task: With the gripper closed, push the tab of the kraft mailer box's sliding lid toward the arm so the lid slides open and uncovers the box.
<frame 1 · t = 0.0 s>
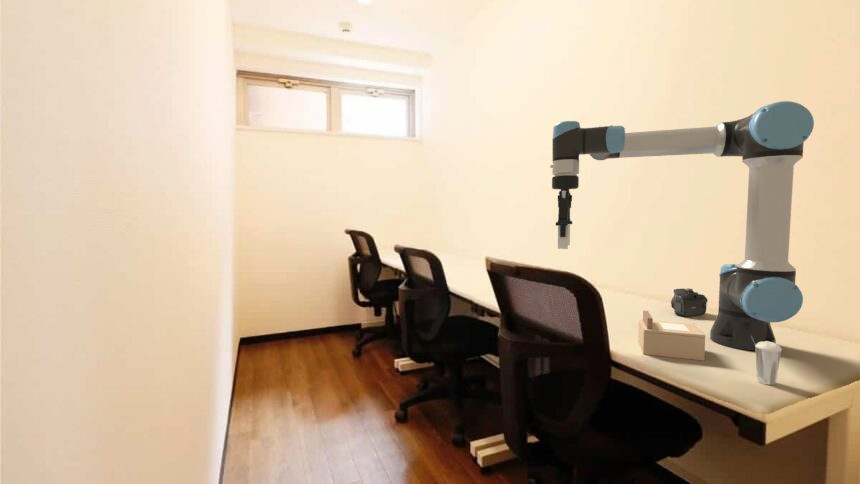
hand: (564, 246, 121), 28 cm above the table, fingers open, 13 cm apart
lid: (670, 322, 111), point 8 cm above the table, slide at 0.0 cm
milkshake: (764, 382, 90), on the table
camera: (687, 314, 151), on the table
mailer box: (669, 350, 111), on the table
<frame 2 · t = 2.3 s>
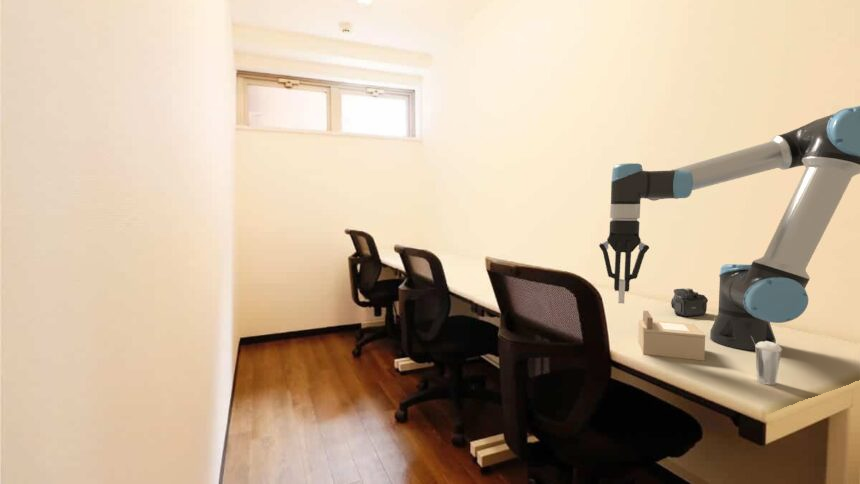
hand: (620, 302, 115), 13 cm above the table, fingers closed
nothing on the table moved.
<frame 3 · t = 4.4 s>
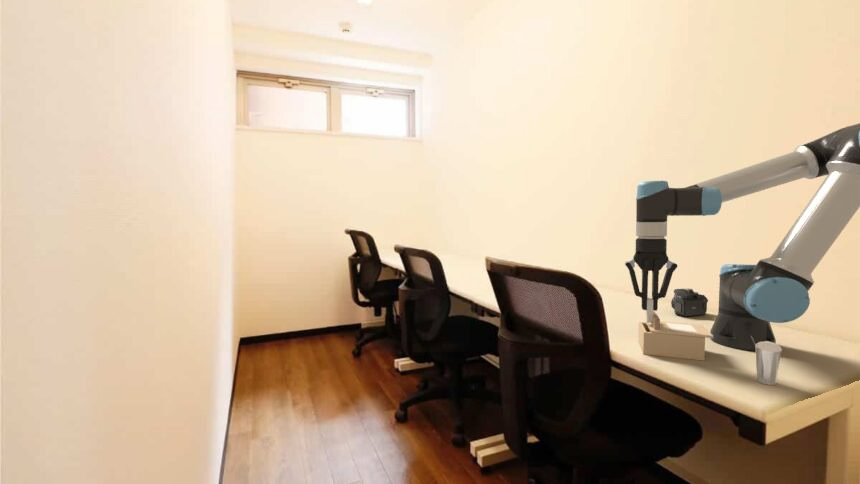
hand: (649, 321, 112), 8 cm above the table, fingers closed
lid: (677, 323, 110), point 8 cm above the table, slide at 1.7 cm, touching gripper
everything else where it was.
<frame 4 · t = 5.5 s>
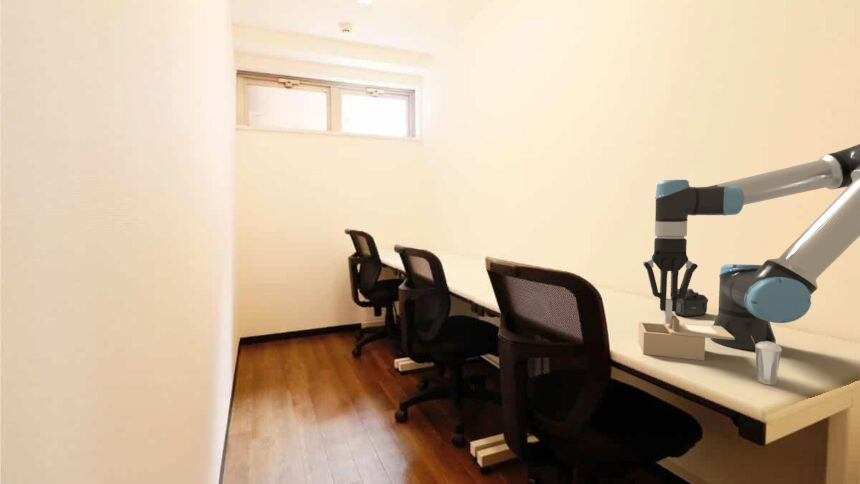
hand: (667, 322, 111), 8 cm above the table, fingers closed
lid: (696, 324, 108), point 8 cm above the table, slide at 6.2 cm, touching gripper
everything else where it was.
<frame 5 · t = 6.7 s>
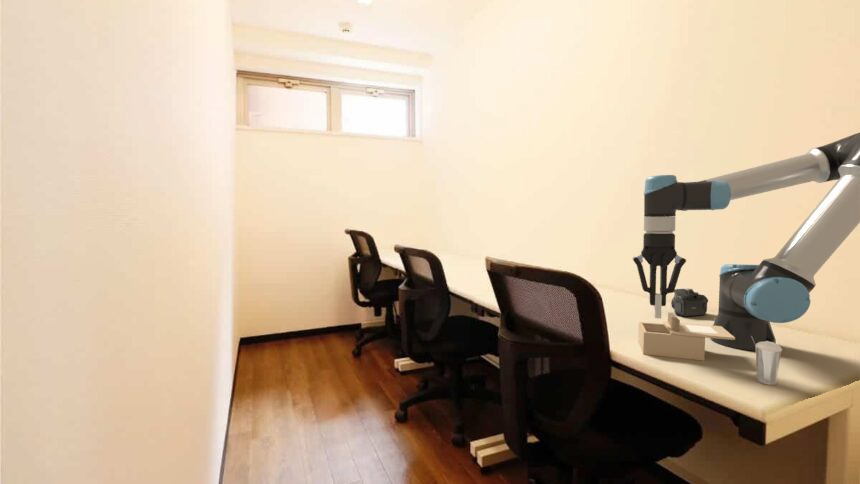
hand: (657, 317, 112), 9 cm above the table, fingers closed
lid: (696, 324, 108), point 8 cm above the table, slide at 6.3 cm
everything else where it was.
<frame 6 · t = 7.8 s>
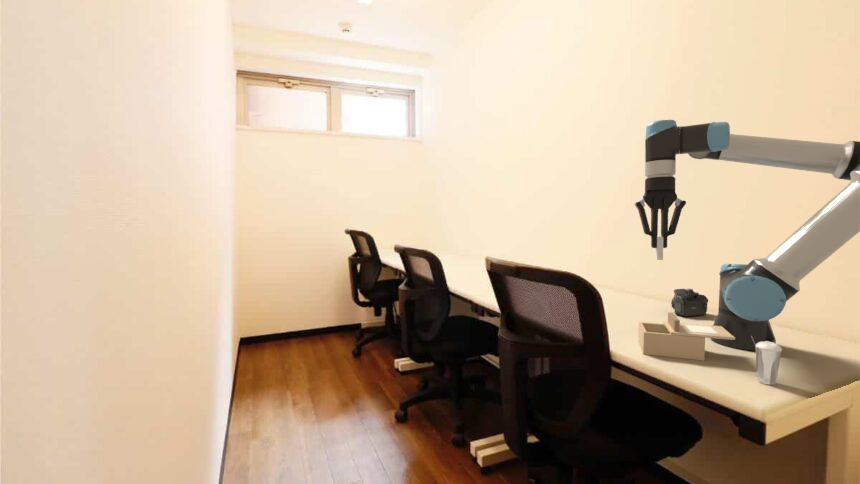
hand: (658, 259, 116), 25 cm above the table, fingers closed
nothing on the table moved.
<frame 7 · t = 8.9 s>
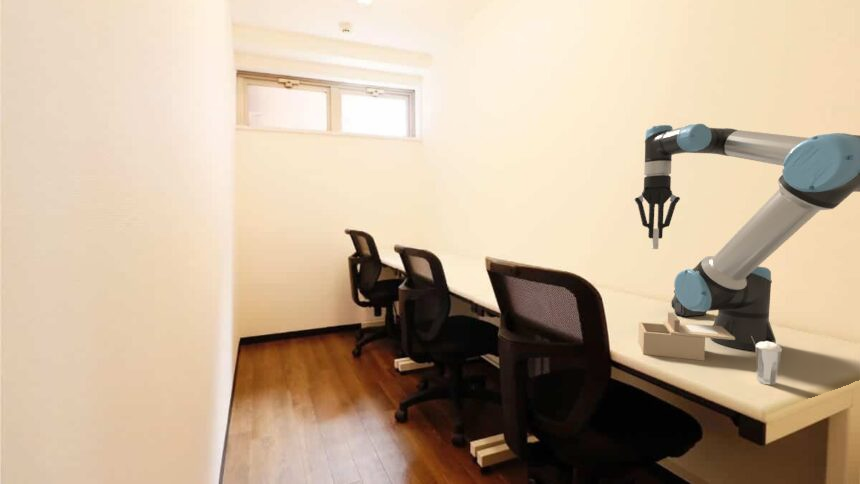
hand: (654, 248, 131), 26 cm above the table, fingers closed
nothing on the table moved.
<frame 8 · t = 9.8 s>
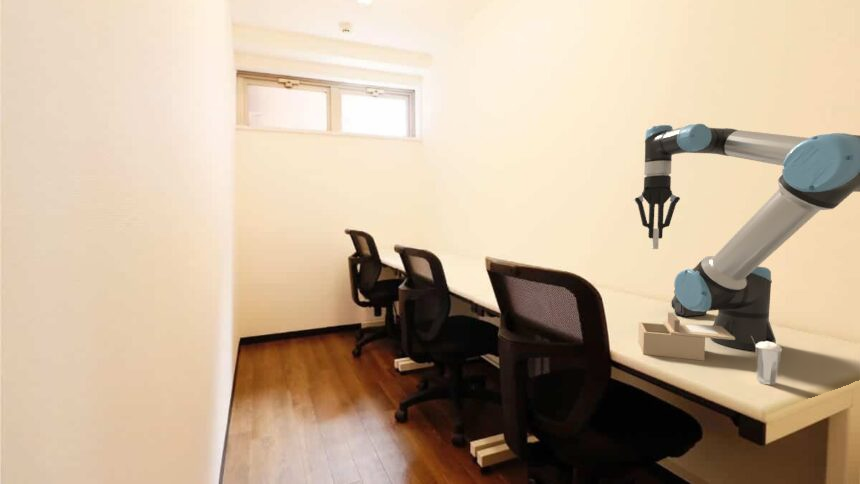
hand: (654, 248, 131), 26 cm above the table, fingers closed
nothing on the table moved.
at the end: lid slide at 6.3 cm; lid touching nothing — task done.
